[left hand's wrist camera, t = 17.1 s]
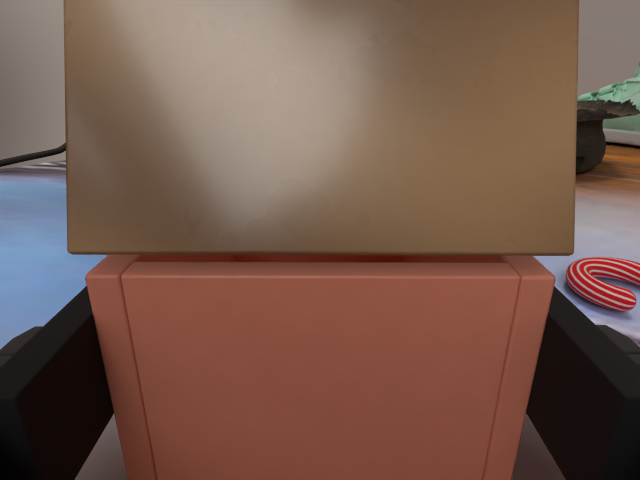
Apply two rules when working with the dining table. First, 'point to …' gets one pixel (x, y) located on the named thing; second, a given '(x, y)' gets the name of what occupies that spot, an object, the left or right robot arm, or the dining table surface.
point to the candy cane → (599, 292)
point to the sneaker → (623, 128)
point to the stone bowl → (596, 129)
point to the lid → (321, 127)
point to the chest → (320, 363)
